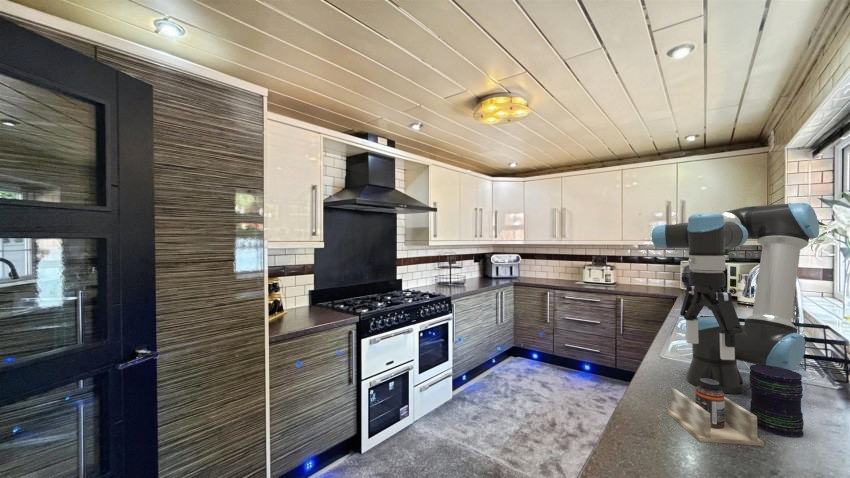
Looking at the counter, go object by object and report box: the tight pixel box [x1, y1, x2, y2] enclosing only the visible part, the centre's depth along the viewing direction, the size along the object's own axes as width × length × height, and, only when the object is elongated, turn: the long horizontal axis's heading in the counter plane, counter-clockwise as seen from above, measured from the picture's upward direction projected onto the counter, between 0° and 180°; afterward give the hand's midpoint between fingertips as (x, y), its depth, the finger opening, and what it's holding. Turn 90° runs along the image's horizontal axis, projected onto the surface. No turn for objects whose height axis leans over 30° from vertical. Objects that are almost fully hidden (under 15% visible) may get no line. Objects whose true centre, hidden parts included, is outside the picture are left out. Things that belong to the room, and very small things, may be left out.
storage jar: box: [748, 364, 805, 439], centre depth 90 cm, size 10×10×15 cm
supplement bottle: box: [695, 378, 725, 428], centre depth 90 cm, size 6×6×11 cm
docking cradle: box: [665, 387, 765, 447], centre depth 90 cm, size 15×14×7 cm
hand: (708, 350), depth 91 cm, fingers open, 13 cm apart
